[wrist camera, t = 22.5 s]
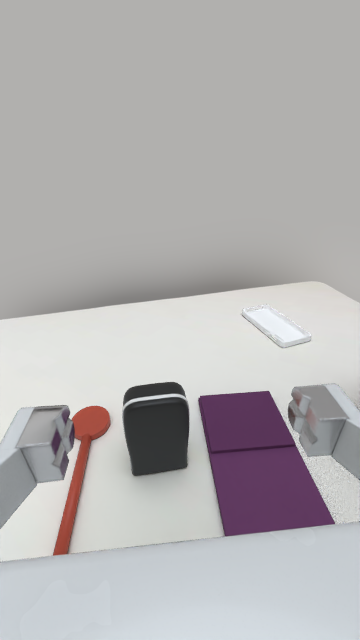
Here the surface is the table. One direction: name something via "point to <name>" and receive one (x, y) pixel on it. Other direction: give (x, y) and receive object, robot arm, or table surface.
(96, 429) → the spoon
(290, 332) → the phone case
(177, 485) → the table surface
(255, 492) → the cloth
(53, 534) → the table surface
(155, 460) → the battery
